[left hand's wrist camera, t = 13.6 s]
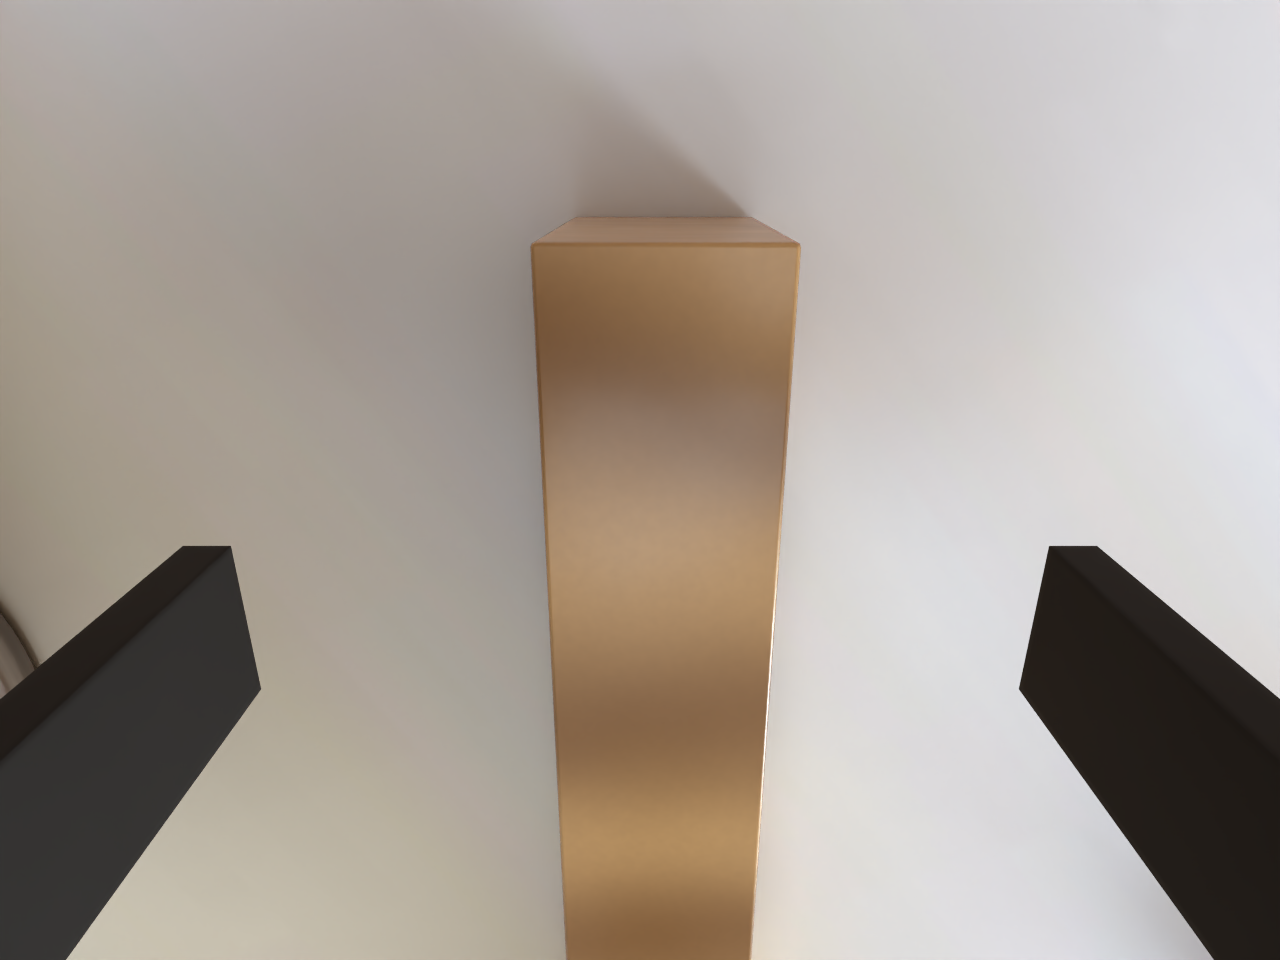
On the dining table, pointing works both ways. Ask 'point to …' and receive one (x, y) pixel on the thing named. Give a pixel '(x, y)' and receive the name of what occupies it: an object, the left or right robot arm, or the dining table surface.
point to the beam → (662, 567)
